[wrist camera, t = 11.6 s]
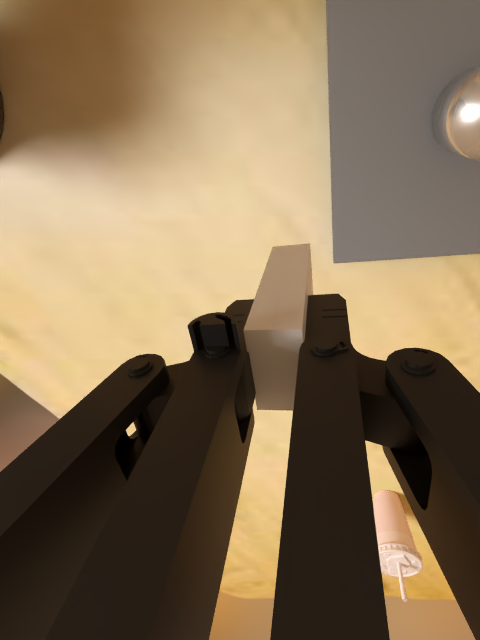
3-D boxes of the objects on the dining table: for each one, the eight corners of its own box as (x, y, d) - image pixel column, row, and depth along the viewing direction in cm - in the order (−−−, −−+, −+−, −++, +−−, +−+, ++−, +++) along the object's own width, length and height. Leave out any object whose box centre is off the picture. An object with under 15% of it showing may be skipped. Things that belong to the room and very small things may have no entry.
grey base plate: (333, 256, 39) (333, 264, 37) (325, -43, 28) (325, -54, 26) (578, 238, 34) (593, 247, 32) (692, -142, 22) (728, -167, 20)
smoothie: (415, 491, 54) (441, 598, 42) (399, 515, 58) (419, 620, 46) (372, 480, 55) (385, 582, 43) (359, 504, 58) (368, 605, 46)
